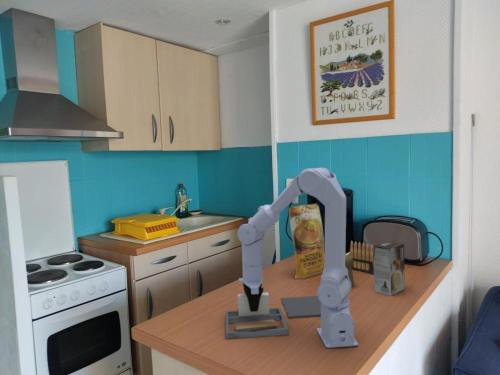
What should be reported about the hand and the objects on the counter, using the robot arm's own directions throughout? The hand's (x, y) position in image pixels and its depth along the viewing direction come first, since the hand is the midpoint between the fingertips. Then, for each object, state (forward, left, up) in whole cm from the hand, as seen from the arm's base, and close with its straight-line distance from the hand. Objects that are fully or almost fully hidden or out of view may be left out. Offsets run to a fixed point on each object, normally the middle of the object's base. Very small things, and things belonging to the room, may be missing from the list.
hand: (253, 309), depth 104 cm
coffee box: (+14, -48, -3) cm, 50 cm away
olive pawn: (+21, -35, -3) cm, 41 cm away
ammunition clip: (+36, -47, -3) cm, 59 cm away
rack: (-5, 0, -3) cm, 5 cm away
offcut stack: (-8, 0, -3) cm, 9 cm away
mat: (+5, -17, -3) cm, 18 cm away
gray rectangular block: (0, 0, -3) cm, 3 cm away
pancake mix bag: (+36, -25, -3) cm, 44 cm away
